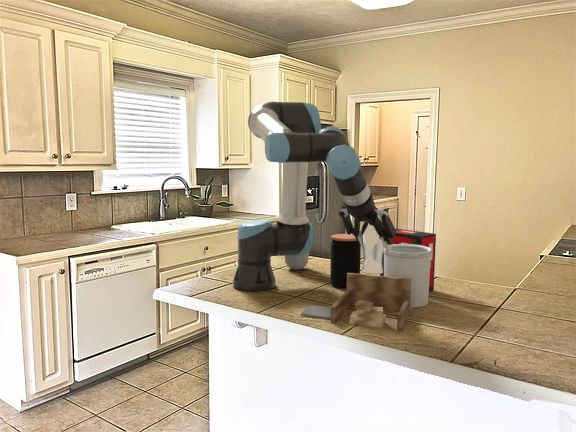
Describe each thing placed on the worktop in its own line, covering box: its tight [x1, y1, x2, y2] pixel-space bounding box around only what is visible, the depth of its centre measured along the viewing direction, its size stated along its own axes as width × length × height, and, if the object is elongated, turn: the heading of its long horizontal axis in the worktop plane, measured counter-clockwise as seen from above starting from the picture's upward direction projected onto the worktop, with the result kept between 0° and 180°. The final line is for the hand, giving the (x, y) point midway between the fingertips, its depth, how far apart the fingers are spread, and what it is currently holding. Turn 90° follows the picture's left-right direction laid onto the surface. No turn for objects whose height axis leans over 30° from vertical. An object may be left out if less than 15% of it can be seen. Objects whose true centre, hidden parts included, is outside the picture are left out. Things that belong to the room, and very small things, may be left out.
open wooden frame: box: [330, 273, 411, 333], centre depth 136 cm, size 19×19×10 cm
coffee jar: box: [329, 233, 362, 290], centre depth 170 cm, size 11×11×18 cm
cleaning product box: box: [379, 227, 437, 293], centre depth 167 cm, size 16×9×20 cm, turn 41°
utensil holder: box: [383, 244, 432, 309], centre depth 150 cm, size 15×15×18 cm
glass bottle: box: [284, 206, 310, 271], centre depth 194 cm, size 10×10×28 cm
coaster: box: [300, 304, 331, 320], centre depth 140 cm, size 9×9×1 cm
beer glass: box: [360, 220, 384, 275], centre depth 136 cm, size 7×7×15 cm
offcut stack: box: [349, 300, 387, 329], centre depth 131 cm, size 9×5×6 cm, turn 69°
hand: (377, 248), depth 139 cm, fingers closed on beer glass, 7 cm apart
